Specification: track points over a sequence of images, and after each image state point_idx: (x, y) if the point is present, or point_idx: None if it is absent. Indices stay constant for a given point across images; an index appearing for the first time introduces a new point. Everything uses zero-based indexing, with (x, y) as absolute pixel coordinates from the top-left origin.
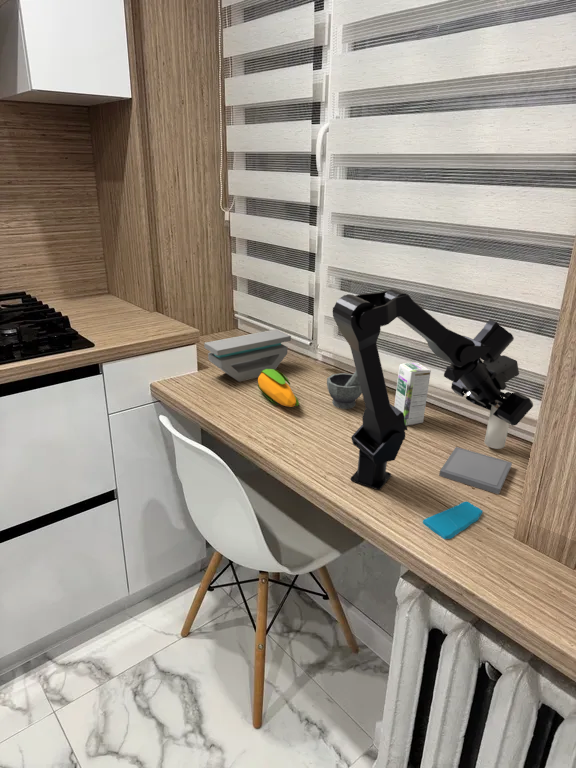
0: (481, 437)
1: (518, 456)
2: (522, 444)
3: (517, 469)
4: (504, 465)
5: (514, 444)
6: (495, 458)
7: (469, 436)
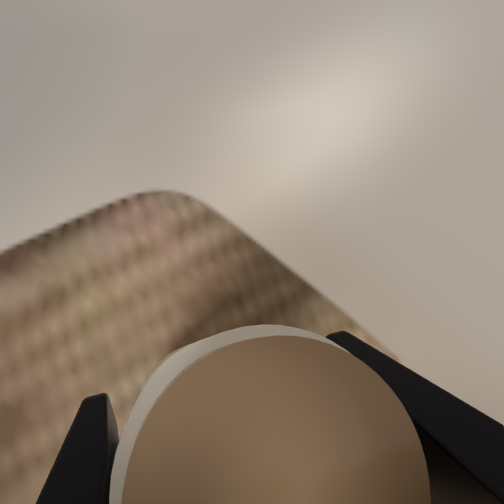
0: (50, 412)
1: (304, 305)
2: (187, 202)
3: None
4: None
5: (179, 247)
6: None
7: (14, 497)
